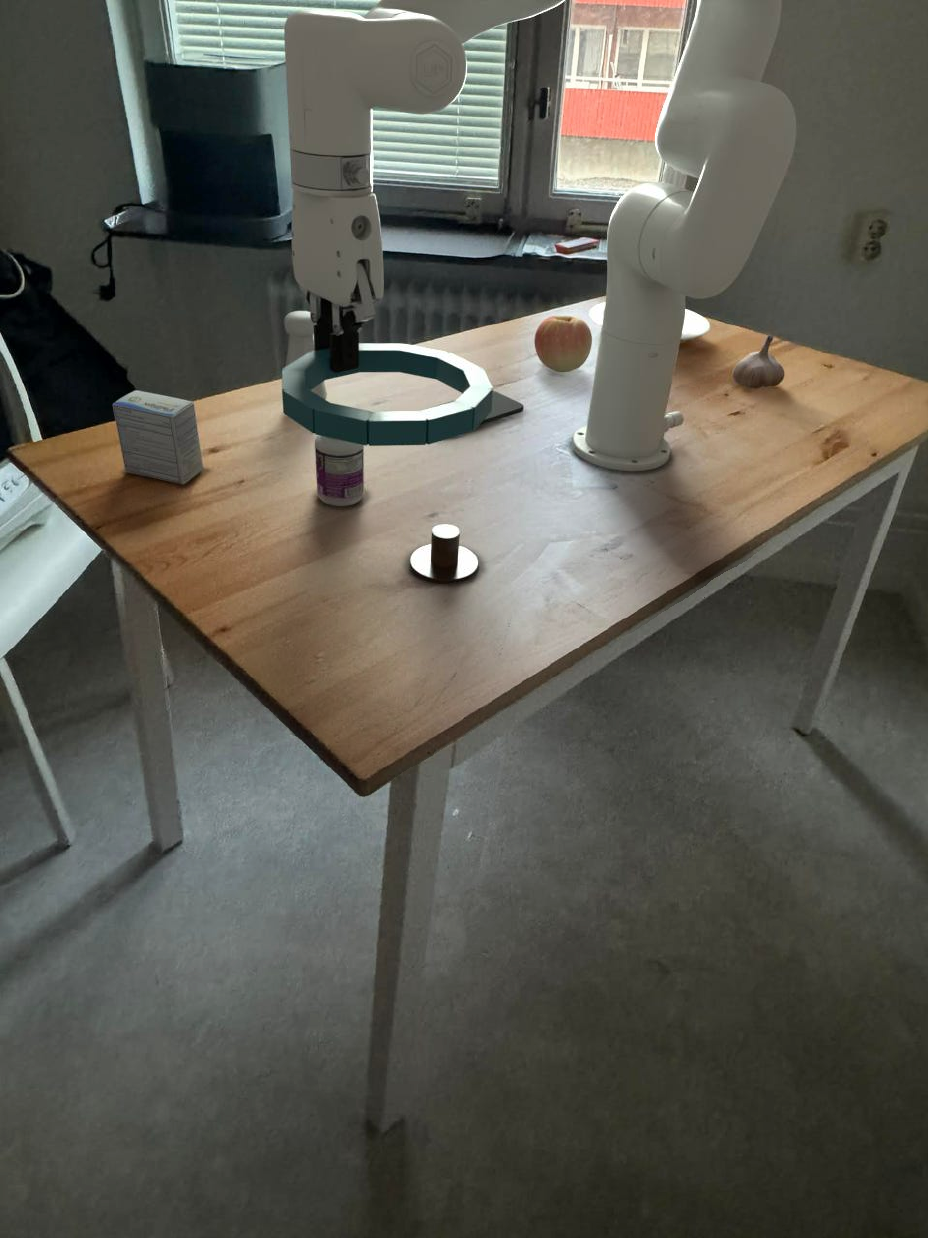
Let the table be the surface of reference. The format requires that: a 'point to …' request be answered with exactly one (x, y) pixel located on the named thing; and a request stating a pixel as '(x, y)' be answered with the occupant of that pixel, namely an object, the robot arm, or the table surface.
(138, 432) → the medicine box
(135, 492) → the table surface
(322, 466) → the pill bottle
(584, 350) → the apple
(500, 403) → the phone
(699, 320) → the candlestick
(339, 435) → the ring
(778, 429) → the table surface
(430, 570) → the peg stand
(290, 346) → the salt shaker
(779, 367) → the garlic bulb
